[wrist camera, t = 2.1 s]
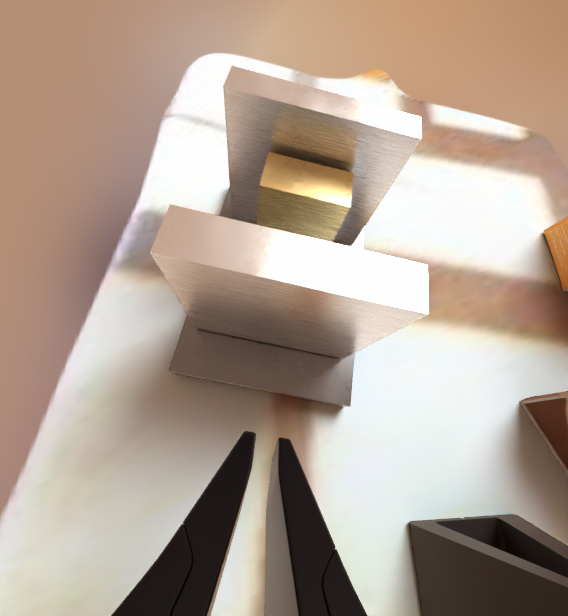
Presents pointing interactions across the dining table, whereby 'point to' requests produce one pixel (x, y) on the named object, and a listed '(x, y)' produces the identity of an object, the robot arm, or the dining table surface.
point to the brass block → (303, 197)
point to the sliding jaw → (286, 284)
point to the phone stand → (489, 567)
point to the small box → (559, 248)
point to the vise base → (264, 359)
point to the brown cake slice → (551, 422)
